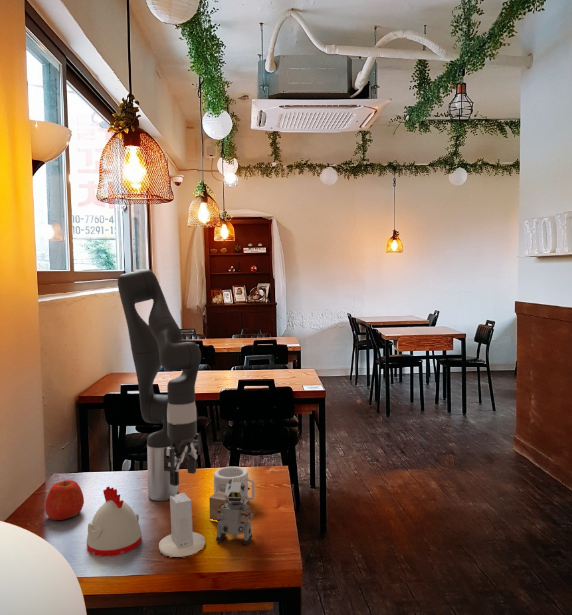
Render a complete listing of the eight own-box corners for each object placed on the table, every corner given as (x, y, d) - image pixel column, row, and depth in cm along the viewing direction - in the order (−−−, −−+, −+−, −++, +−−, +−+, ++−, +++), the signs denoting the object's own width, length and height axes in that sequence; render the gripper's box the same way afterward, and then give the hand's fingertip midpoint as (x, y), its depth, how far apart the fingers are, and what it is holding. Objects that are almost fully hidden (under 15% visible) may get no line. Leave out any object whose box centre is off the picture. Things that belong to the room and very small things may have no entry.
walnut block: (218, 513, 159) (217, 491, 159) (232, 516, 158) (232, 493, 157) (209, 520, 155) (209, 497, 154) (225, 523, 153) (224, 500, 152)
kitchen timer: (122, 526, 152) (121, 475, 151) (151, 541, 143) (150, 486, 142) (76, 545, 141) (75, 490, 140) (105, 562, 132) (104, 503, 131)
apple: (70, 525, 152) (69, 489, 152) (36, 522, 154) (35, 486, 154) (91, 509, 163) (90, 475, 162) (59, 506, 165) (58, 473, 164)
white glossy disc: (175, 532, 148) (175, 528, 148) (213, 539, 143) (213, 535, 143) (149, 552, 137) (149, 548, 137) (189, 561, 132) (189, 557, 132)
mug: (207, 506, 164) (207, 475, 164) (224, 493, 174) (224, 464, 174) (247, 514, 159) (246, 481, 159) (262, 500, 169) (261, 469, 169)
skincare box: (193, 545, 138) (193, 500, 138) (177, 549, 136) (176, 503, 136) (186, 535, 144) (185, 491, 143) (169, 539, 142) (169, 495, 141)
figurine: (258, 529, 149) (258, 477, 148) (245, 549, 138) (245, 493, 137) (228, 525, 151) (227, 474, 151) (213, 545, 140) (212, 490, 140)
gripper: (183, 410, 146) (185, 467, 147) (153, 424, 133) (155, 487, 134) (207, 412, 144) (209, 471, 145) (179, 427, 130) (181, 491, 131)
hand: (183, 478), depth 139 cm, fingers open, 8 cm apart
